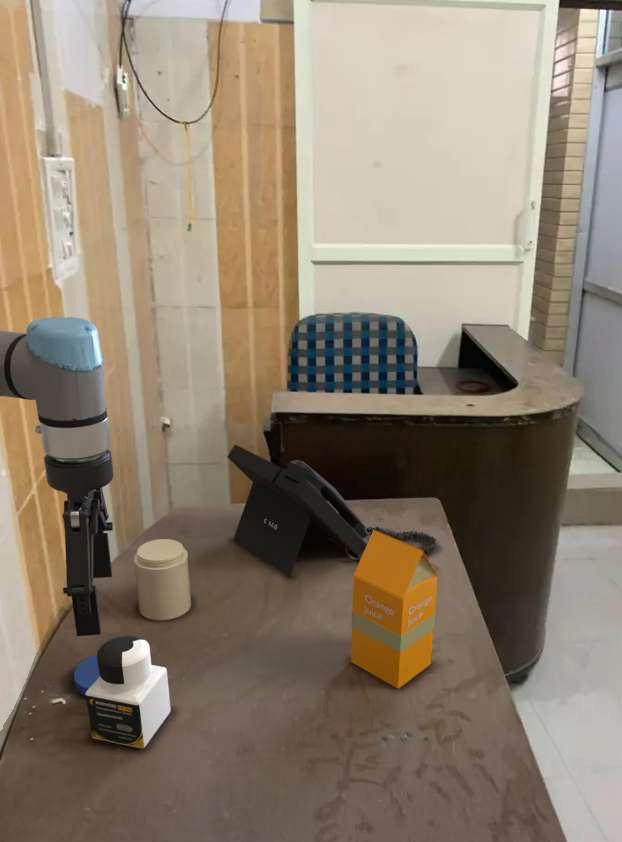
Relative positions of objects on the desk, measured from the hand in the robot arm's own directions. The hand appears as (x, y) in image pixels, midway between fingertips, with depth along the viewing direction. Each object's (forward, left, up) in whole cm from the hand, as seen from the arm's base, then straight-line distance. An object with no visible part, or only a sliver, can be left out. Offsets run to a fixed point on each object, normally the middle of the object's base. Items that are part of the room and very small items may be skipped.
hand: (95, 603), depth 99 cm
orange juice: (+39, -3, -12) cm, 41 cm away
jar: (+7, +17, -12) cm, 22 cm away
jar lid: (0, 0, -11) cm, 11 cm away
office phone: (+37, +34, -12) cm, 52 cm away
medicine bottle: (+4, -10, -12) cm, 16 cm away
